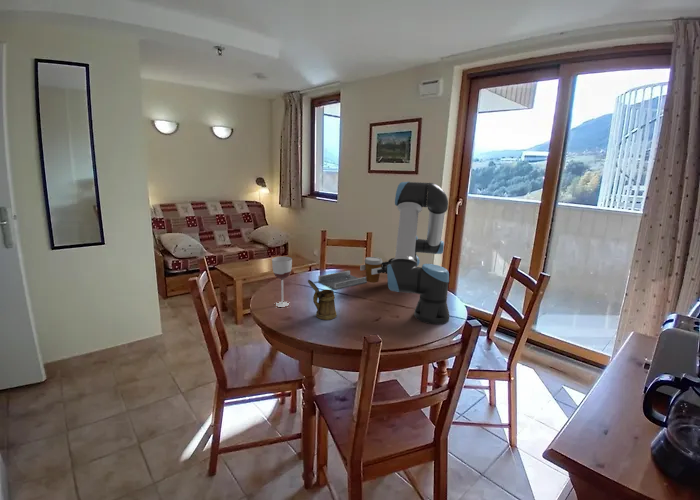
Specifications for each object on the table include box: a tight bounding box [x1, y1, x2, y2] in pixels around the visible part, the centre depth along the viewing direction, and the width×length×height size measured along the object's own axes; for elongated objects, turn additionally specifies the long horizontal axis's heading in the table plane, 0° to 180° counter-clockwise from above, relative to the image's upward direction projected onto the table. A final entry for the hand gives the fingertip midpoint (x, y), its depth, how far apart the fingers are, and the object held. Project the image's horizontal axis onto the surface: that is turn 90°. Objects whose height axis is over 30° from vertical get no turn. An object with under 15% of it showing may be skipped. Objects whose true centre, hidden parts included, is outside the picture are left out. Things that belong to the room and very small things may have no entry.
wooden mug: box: [307, 279, 338, 321], centre depth 155 cm, size 9×14×18 cm, turn 124°
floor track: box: [317, 270, 368, 291], centre depth 204 cm, size 22×16×3 cm
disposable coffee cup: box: [363, 256, 384, 283], centre depth 190 cm, size 10×10×12 cm
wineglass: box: [271, 256, 293, 307], centre depth 167 cm, size 9×10×22 cm
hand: (366, 269), depth 187 cm, fingers closed on disposable coffee cup, 8 cm apart
